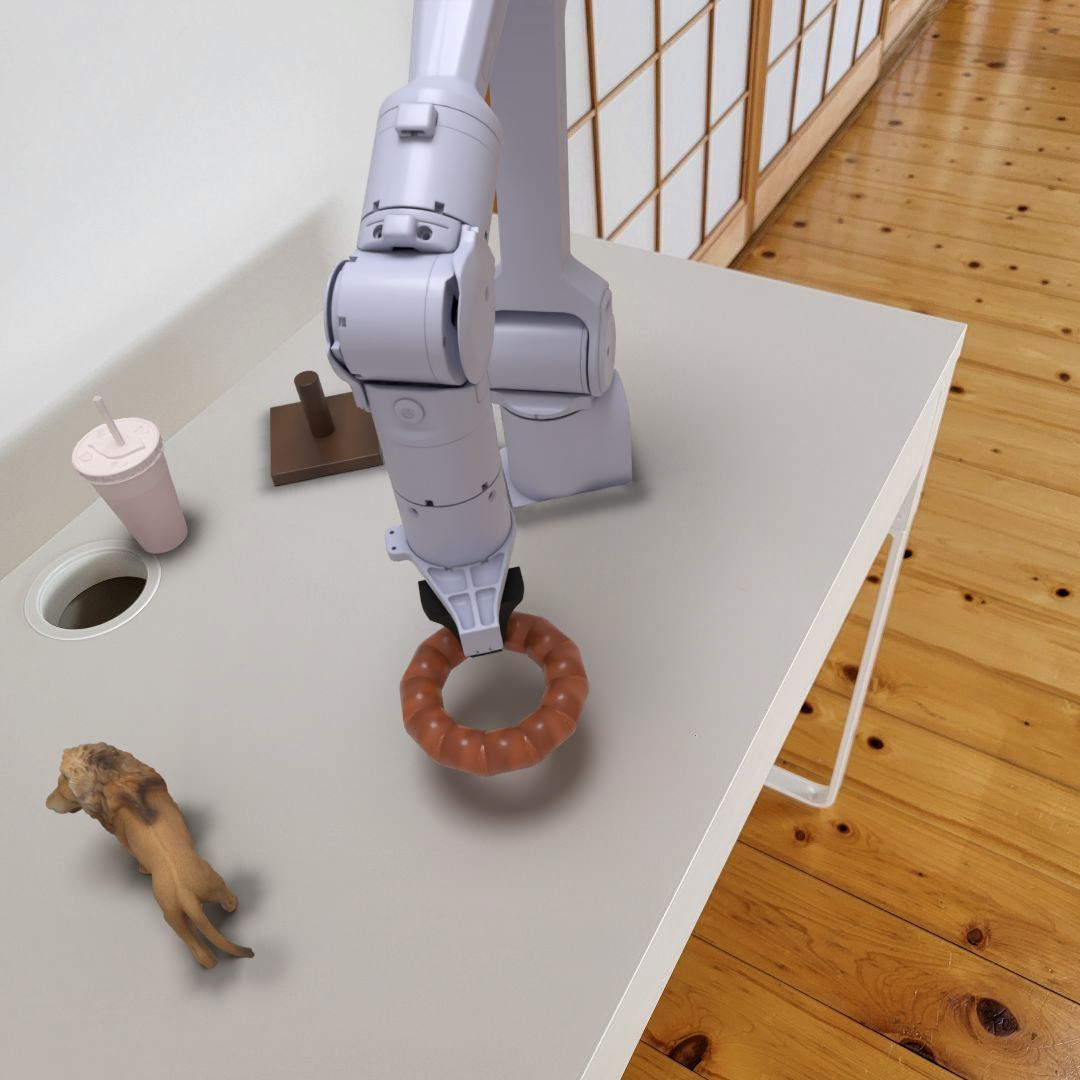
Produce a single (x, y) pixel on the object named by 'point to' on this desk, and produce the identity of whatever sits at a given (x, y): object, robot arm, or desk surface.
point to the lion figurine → (147, 837)
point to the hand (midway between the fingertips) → (481, 630)
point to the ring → (506, 744)
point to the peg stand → (320, 434)
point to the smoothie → (133, 478)
